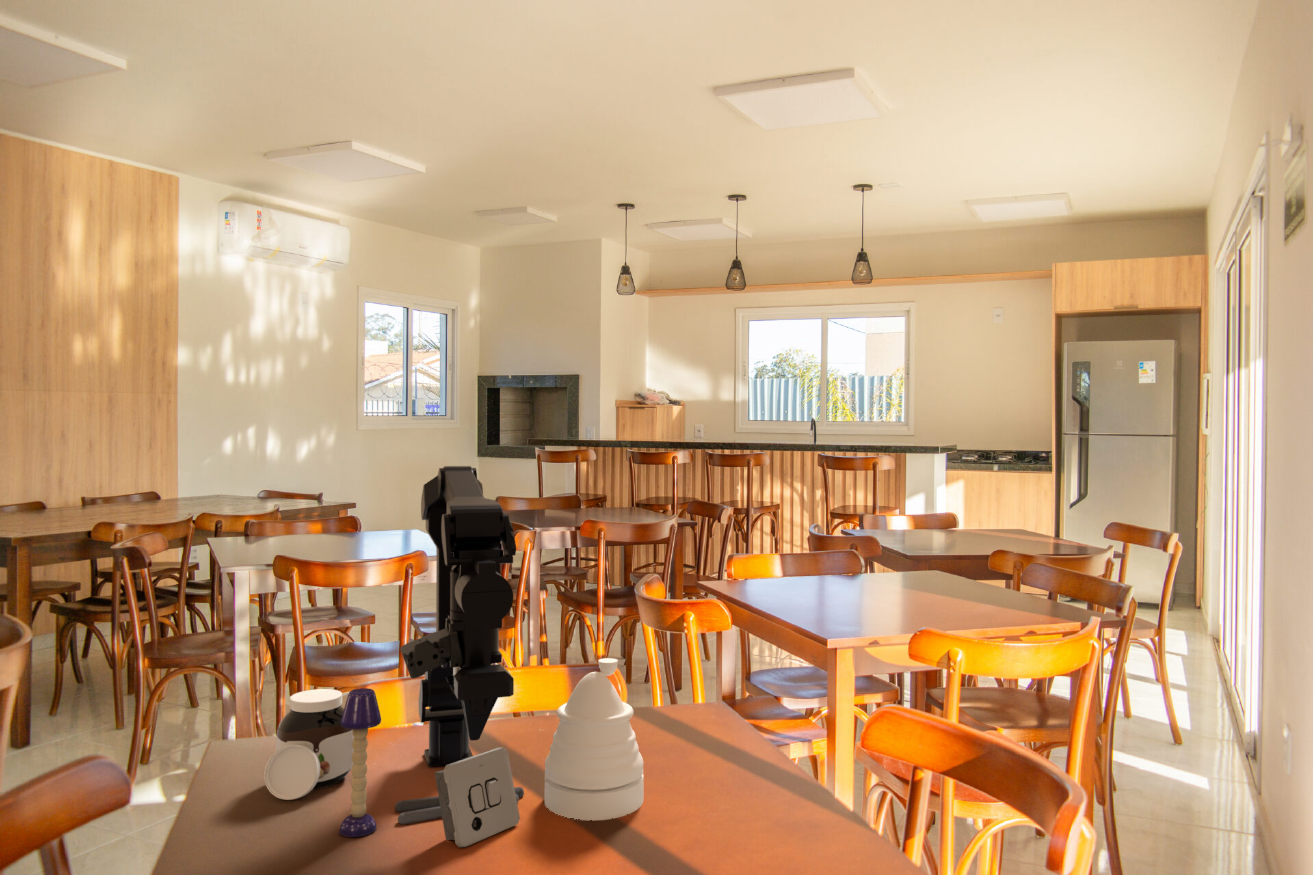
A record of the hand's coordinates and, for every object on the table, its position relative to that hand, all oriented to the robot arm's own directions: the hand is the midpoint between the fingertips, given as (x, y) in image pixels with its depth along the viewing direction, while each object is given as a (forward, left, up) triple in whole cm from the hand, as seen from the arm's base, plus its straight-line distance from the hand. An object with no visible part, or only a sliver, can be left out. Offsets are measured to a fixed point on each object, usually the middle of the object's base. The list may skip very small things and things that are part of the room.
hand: (474, 739), depth 112 cm
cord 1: (-9, 0, -11) cm, 15 cm away
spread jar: (-22, -19, -11) cm, 31 cm away
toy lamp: (-5, -13, -11) cm, 18 cm away
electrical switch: (0, 0, -11) cm, 11 cm away
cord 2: (-7, -1, -11) cm, 13 cm away
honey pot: (-5, +16, -11) cm, 20 cm away
